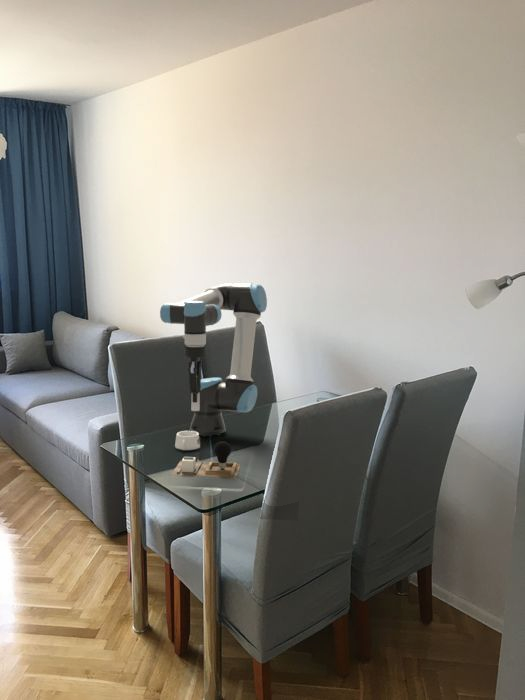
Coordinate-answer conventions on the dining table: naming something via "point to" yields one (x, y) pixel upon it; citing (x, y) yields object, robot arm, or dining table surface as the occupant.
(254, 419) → the dining table surface
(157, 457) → the dining table surface
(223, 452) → the light bulb
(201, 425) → the robot arm
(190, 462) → the white block
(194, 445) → the mug
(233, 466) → the wooden tray
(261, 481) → the dining table surface
